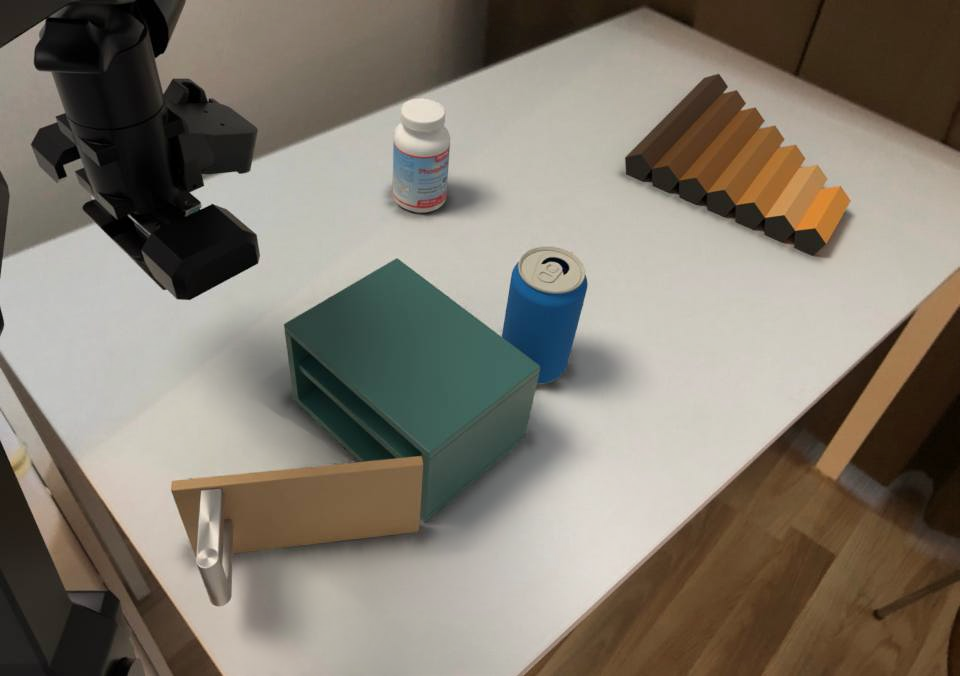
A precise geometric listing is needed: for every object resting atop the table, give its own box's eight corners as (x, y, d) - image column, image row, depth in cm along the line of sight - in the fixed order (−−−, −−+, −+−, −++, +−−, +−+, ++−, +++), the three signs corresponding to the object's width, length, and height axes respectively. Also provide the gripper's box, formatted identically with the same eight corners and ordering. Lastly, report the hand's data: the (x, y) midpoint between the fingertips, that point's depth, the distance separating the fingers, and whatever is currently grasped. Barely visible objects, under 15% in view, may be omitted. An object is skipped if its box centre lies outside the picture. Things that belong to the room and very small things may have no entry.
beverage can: (578, 357, 76) (603, 263, 67) (545, 400, 72) (567, 307, 63) (520, 327, 78) (537, 232, 69) (485, 367, 74) (498, 272, 65)
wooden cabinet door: (429, 601, 58) (434, 539, 51) (190, 633, 55) (163, 571, 48) (417, 522, 62) (422, 455, 55) (195, 548, 59) (171, 480, 52)
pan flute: (699, 91, 112) (621, 171, 97) (707, 69, 110) (627, 148, 95) (875, 159, 104) (818, 258, 89) (886, 136, 102) (831, 234, 87)
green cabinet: (424, 523, 62) (429, 453, 55) (293, 399, 69) (283, 323, 62) (525, 438, 69) (541, 366, 62) (395, 332, 76) (397, 257, 69)
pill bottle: (425, 222, 87) (430, 133, 79) (381, 200, 89) (381, 111, 81) (456, 195, 91) (463, 108, 83) (413, 175, 93) (416, 88, 85)
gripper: (317, 125, 49) (330, 301, 61) (151, 6, 57) (191, 183, 68) (153, 198, 43) (202, 378, 55) (-8, 55, 51) (66, 239, 62)
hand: (167, 285), depth 60 cm, fingers closed
